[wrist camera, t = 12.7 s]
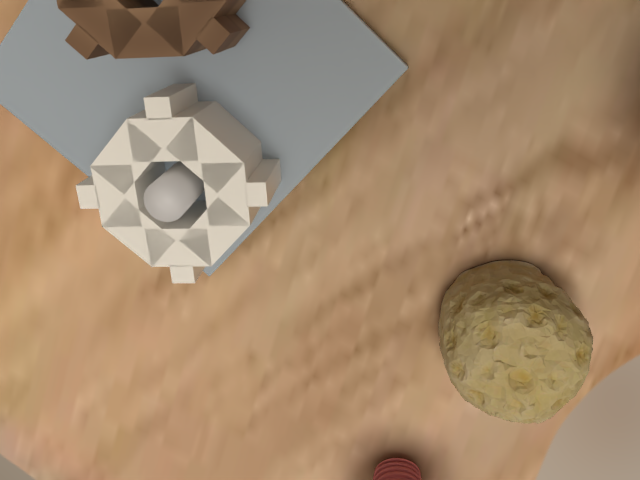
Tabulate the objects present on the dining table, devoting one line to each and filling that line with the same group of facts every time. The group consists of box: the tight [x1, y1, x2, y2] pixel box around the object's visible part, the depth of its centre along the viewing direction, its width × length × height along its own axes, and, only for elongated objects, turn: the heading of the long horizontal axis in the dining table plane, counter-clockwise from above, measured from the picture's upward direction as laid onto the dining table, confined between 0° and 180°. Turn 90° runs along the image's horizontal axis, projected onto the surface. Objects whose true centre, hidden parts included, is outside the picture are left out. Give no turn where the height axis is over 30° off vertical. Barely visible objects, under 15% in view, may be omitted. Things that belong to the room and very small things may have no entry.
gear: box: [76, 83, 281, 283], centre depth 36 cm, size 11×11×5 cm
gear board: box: [0, 0, 408, 276], centre depth 34 cm, size 19×19×8 cm
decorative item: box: [438, 260, 593, 424], centre depth 39 cm, size 10×10×10 cm
